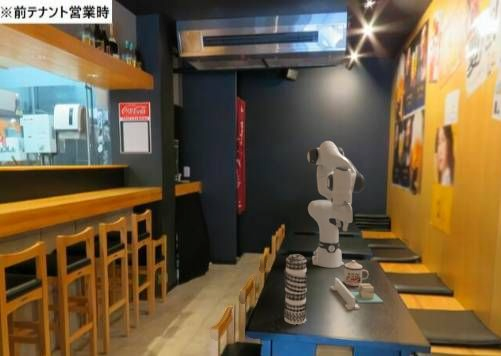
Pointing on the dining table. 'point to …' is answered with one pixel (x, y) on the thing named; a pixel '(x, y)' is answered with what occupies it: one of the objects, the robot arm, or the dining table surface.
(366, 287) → the maple block
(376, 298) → the pad
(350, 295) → the divider wall
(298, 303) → the decorative candle
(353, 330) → the dining table surface
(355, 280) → the teacup with lid
